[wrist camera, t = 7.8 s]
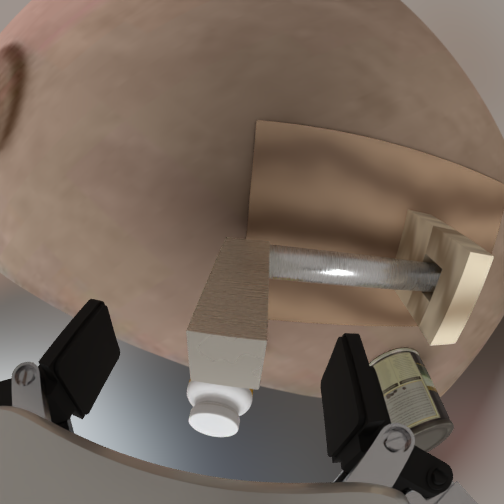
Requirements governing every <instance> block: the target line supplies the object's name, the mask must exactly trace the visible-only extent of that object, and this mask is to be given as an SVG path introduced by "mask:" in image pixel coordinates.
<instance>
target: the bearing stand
mask: <svg viewBox="0 0 504 504" xmlns="http://www.w3.org/2000/svg"><path fill="white" fill-rule="evenodd" d="M503 211H504V184H502V183H500V182H498V181H496V180H494V179H492V178H489V177H487V176H485V175H483V174H480V173H478V172H476V171H473V170H471V169H468V168H466V167H463V166H461V165H458V164H455V163H453V162H450V161H447V160H444V159H442V158H439V157H436V156H433V155H430V154H427V153H424V152H421V151H417V150H414V149H411V148H407V147H404V146H400V145H397V144H393V143H389V142H385V141H381V140H377V139H373V138H369V137H365V136H360V135H355V134H351V133H346V132H341V131H335V130H330V129H324V128H318V127H312V126H305V125H298V124H290V123H282V122H273V121H262V120H257V122H256V133H255V143H254V155H253V166H252V177H251V188H250V200H249V211H248V223H247V235H246V239H250V240H260V241H269V242H270V245H280V246H289V247H298V248H307V249H316V250H325V251H334V252H343V253H352V254H361V255H369V256H378V257H386V258H395V259H403V260H411V261H420V262H428V263H436V264H438V265H439V266H440V267H441V268H442V271H441V274H440V277H439V280H438V282H437V285H436V288H435V290H434V292H424V291H408V290H394V289H380V288H367V287H354V286H342V285H331V284H319V283H308V282H298V281H288V280H278V279H269V293H268V319H269V320H280V321H292V322H305V323H319V324H337V325H360V326H418V327H419V328H420V330H421V331H422V333H423V335H424V336H425V338H426V340H427V341H428V343H429V345H430V346H431V345H444V344H455V343H456V341H457V339H458V337H459V335H460V334H461V332H462V330H463V328H464V326H465V324H466V322H467V320H468V318H469V316H470V314H471V312H472V310H473V308H474V305H475V303H476V301H477V299H478V297H479V294H480V292H481V290H482V287H483V285H484V282H485V280H486V277H487V274H488V272H489V269H490V266H491V264H492V261H493V258H494V256H493V255H491V254H492V251H493V248H494V244H495V241H496V238H497V234H498V231H499V227H500V223H501V219H502V215H503ZM445 223H446V224H445ZM453 228H454V229H453ZM456 230H457V231H456ZM477 244H478V245H477ZM480 246H481V247H480Z"/></svg>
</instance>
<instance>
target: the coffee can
mask: <svg viewBox="0 0 504 504" xmlns="http://www.w3.org/2000/svg"><path fill="white" fill-rule="evenodd" d="M369 366H373V367H374V368H375V370H376V373H377V376H378V379H379V382H380V386H381V389H382V392H383V395H384V399H385V402H386V406H387V409H388V413H389V417H390V420H391V424H392V423H400V424H403V425H406V426H407V427H408V428H410V430H411V431H412V432H413V434H414V437H415V444H414V445H415V446H417V447H419V448H420V449H422V450H424V451H426V452H429V451H430V450H432V449H433V448H435V447H436V446H438V445H439V444H440V443H442V442H443V441H444V440H445V439H446V438H447V437H448V436H449V435H450V434H451V432H452V430H453V428H454V426H453V423H452V422H451V421H450V419H449V416H448V414H447V412H446V410H445V408H444V405H443V403H442V401H441V399H440V397H439V395H438V393H437V390H436V388H435V386H434V384H433V382H432V380H431V378H430V376H429V374H428V372H427V370H426V368H425V366H424V364H423V362H422V360H421V359H420V356H419V354H418V352H416V351H415V350H413V349H410V348H399V349H394V350H391V351H388V352H386V353H384V354H382V355H380V356H379V357H377V358H376V359H374V360H373V361H372V362H371V363H369Z"/></svg>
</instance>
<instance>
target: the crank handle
mask: <svg viewBox="0 0 504 504" xmlns="http://www.w3.org/2000/svg"><path fill="white" fill-rule="evenodd" d="M441 271H442V268H441V267H440V266H439V265H438V264H436V263H428V262H420V261H411V260H403V259H395V258H386V257H378V256H369V255H361V254H352V253H343V252H334V251H325V250H316V249H307V248H298V247H289V246H280V245H270V242H269V241H260V240H250V239H240V238H231V237H226V238H225V241H224V243H223V245H222V248H221V250H220V252H219V254H218V257H217V259H216V261H215V264H214V266H213V268H212V271H211V273H210V275H209V277H208V280H207V282H206V285H205V287H204V289H203V292H202V294H201V296H200V299H199V301H198V303H197V306H196V308H195V311H194V313H193V316H192V318H191V320H190V323H189V325H188V328H187V330H186V333H187V346H188V357H189V368H190V376H191V381H197V382H203V383H209V384H216V385H223V386H231V387H239V388H248V389H259V385H260V379H261V374H262V368H263V362H264V356H265V350H266V344H267V327H268V293H269V279H278V280H288V281H298V282H308V283H319V284H331V285H342V286H354V287H367V288H380V289H394V290H408V291H424V292H434V290H435V288H436V285H437V282H438V280H439V277H440V274H441Z"/></svg>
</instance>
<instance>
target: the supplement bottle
mask: <svg viewBox="0 0 504 504" xmlns="http://www.w3.org/2000/svg"><path fill="white" fill-rule="evenodd" d="M252 395H253V389H248V388H239V387H231V386H223V385H216V384H209V383H203V382H197V381H191V378H190V381H189V384H188V388H187V397H188V400H189V402H190V403H191V405H192V406H193V408H192V409H191V412H190V417H189V423H190V425H191V426H192V427H193V428H194V429H195V430H197V431H199V432H201V433H203V434H206V435H209V436H215V437H227V436H231V435H234V434H235V433H237V431H238V428H239V422H240V418H239V416H241V415H243V414H244V413H245V412H247V410H248V409H249V408H250V406H251V403H252V397H253V396H252Z"/></svg>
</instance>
